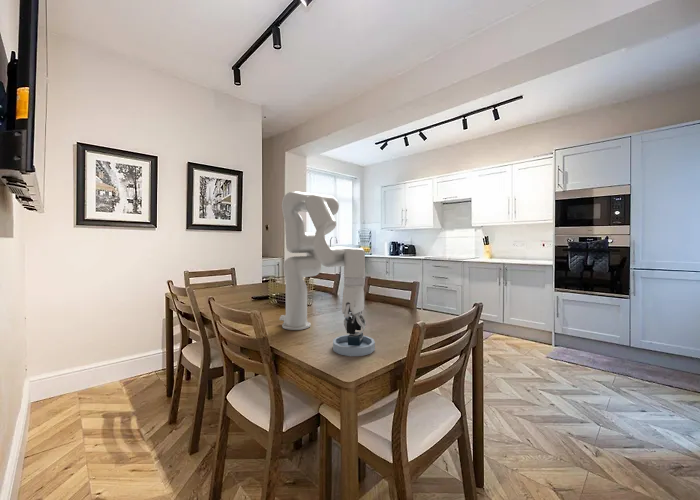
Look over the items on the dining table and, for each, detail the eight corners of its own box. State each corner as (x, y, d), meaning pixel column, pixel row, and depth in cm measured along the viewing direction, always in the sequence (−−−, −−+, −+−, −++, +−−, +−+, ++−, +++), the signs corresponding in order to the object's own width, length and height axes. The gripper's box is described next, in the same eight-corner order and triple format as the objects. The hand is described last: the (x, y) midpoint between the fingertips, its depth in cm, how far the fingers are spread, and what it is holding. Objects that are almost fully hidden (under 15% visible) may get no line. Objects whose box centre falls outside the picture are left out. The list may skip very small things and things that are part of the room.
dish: (325, 351, 115) (325, 343, 115) (344, 339, 129) (344, 332, 129) (364, 359, 109) (364, 350, 109) (380, 345, 122) (380, 338, 122)
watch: (365, 346, 115) (363, 315, 114) (343, 345, 117) (341, 315, 116) (368, 340, 120) (366, 311, 119) (347, 339, 122) (346, 310, 122)
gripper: (354, 278, 127) (354, 324, 128) (334, 284, 112) (333, 336, 113) (372, 279, 124) (372, 327, 125) (353, 285, 109) (353, 339, 109)
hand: (353, 331), depth 119 cm, fingers closed on watch, 4 cm apart
